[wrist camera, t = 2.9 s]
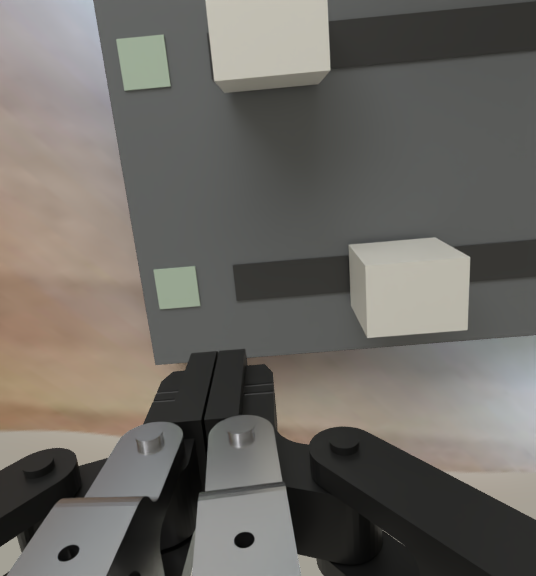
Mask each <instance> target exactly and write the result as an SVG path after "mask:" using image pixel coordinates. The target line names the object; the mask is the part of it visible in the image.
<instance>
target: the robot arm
mask: <svg viewBox="0 0 536 576" xmlns="http://www.w3.org/2000/svg"><path fill="white" fill-rule="evenodd" d="M382 530H384V531H385V532H384V531H382ZM386 532H387V533H388V534H389V535H388V534H387V533H386ZM390 535H391V536H392V537H391V536H390ZM16 536H17V538H18V541H19V545H20V548H21V552H22V554H21V555H20V557H19V558H18V559H17V561H16V562H15V564H14V565H13V567H12V568H11V570H10V571H9V572H8V573H6V574H5V575H4V576H190V575H191V571H192V576H301V572H300V567H299V561H298V555H297V554H300V555H304V556H309V557H313V558H317V564H318V567H319V569H320V571H321V573H322V574H323V575H324V576H536V520H535V519H533V518H531V517H529V516H527V515H525V514H523V513H521V512H520V511H518V510H516V509H514V508H512V507H510V506H508V505H506V504H504V503H502V502H500V501H498V500H497V499H495V498H493V497H491V496H489V495H487V494H485V493H483V492H481V491H479V490H477V489H475V488H473V487H472V486H470V485H468V484H466V483H464V482H462V481H460V480H458V479H456V478H454V477H453V476H451V475H449V474H447V473H445V472H443V471H441V470H439V469H437V468H435V467H433V466H431V465H430V464H428V463H426V462H424V461H422V460H420V459H418V458H416V457H414V456H412V455H410V454H408V453H407V452H405V451H403V450H401V449H399V448H397V447H395V446H393V445H391V444H389V443H387V442H386V441H384V440H382V439H380V438H378V437H376V436H374V435H372V434H370V433H368V432H366V431H364V430H361V429H358V428H353V427H334V428H329V429H326V430H324V431H322V432H319V433H318V434H317V435H315V436H314V437H313V438H312V440H311V441H310V444H309V445H307V444H300V443H296V442H293V441H290V440H288V439H286V438H284V437H282V436H281V435H280V434H279V433H278V431H277V415H276V404H275V393H274V382H273V372H272V371H271V370H270V369H269V368H268V367H267V366H266V365H265V364H262V365H249V366H248V365H247V356H246V350H245V349H235V350H222V351H219V353H218V351H211V352H198V353H191V355H190V358H189V361H188V364H187V366H186V369H185V371H176V372H172V373H171V374H170V375H169V376H167V377H166V378H165V379H164V380H163V381H162V382H161V384H160V387H159V389H158V391H157V394H156V396H155V398H154V403H152V405H151V407H150V410H149V412H148V414H147V417H146V419H145V421H144V424H143V425H141V426H138V427H136V428H134V429H132V430H130V431H128V432H127V433H126V434H124V435H123V436H122V437H121V438H120V440H119V441H118V443H117V445H116V446H115V448H114V450H113V451H112V453H111V454H110V456H109V458H106V459H103V460H99V461H96V462H92V463H88V464H85V465H81V466H78V462H77V458H76V455H75V453H74V452H72V451H70V450H68V449H64V448H52V449H46V450H42V451H39V452H36V453H33V454H31V455H28V456H26V457H24V458H23V459H20V460H19V461H17V462H15V463H13V464H12V465H10V466H8V467H6V468H4V469H2V470H1V471H0V547H1V546H2V545H4V544H5V543H7V542H8V541H9V540H11V539H13V538H14V537H16ZM393 537H394V538H395V539H397V540H398V541H399V542H398V541H397V540H395V539H394V538H393ZM400 542H401V543H402V544H401V543H400ZM192 567H193V569H192Z"/></svg>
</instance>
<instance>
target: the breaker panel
mask: <svg viewBox="0 0 536 576" xmlns="http://www.w3.org/2000/svg"><path fill="white" fill-rule="evenodd" d="M93 1H94V7H95V13H96V19H97V25H98V31H99V37H100V42H101V48H102V54H103V60H104V66H105V72H106V78H107V83H108V89H109V95H110V101H111V107H112V113H113V119H114V124H115V130H116V136H117V142H118V148H119V154H120V160H121V165H122V171H123V177H124V183H125V189H126V195H127V201H128V206H129V212H130V218H131V224H132V230H133V236H134V242H135V247H136V253H137V259H138V265H139V271H140V277H141V283H142V288H143V294H144V300H145V306H146V312H147V318H148V324H149V329H150V335H151V341H152V347H153V353H154V359H155V365H161V364H174V363H187V362H188V361H189V358H190V355H191V353H198V352H211V351H218V353H219V351H222V350H235V349H245V350H246V356H247V358H250V357H263V356H276V355H288V354H301V353H314V352H326V351H339V350H352V349H364V348H377V347H390V346H403V345H415V344H428V343H441V342H453V341H466V340H479V339H491V338H504V337H517V336H529V335H536V0H327V2H328V24H329V47H330V72H329V73H328V74H327V75H326V76H325V77H324V79H323V80H322V81H321V82H320V83H319V84H316V85H305V86H294V87H284V88H273V89H262V90H252V91H241V92H230V93H224V92H223V91H222V90H221V88H220V87H219V86H218V85H217V84H216V83H215V82H214V74H213V65H212V56H211V47H210V38H209V29H208V20H207V11H206V2H205V0H93ZM433 237H435V238H437V239H439V240H441V241H443V242H444V243H446V244H448V245H450V246H451V247H453V248H455V249H457V250H459V251H460V252H462V253H464V254H466V255H467V256H469V257H470V278H469V305H468V330H462V331H449V332H437V333H424V334H411V335H399V336H386V337H374V338H367V336H366V334H365V332H364V330H363V328H362V327H361V325H360V323H359V321H358V319H357V317H356V315H355V313H354V311H353V309H352V307H351V297H350V270H349V245H350V244H362V243H374V242H386V241H398V240H409V239H421V238H433Z"/></svg>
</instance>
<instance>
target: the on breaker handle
mask: <svg viewBox="0 0 536 576" xmlns="http://www.w3.org/2000/svg"><path fill="white" fill-rule="evenodd" d="M205 2H206V11H207V20H208V29H209V38H210V47H211V56H212V65H213V74H214V82H215V83H216V84H217V85H218V86H219V87H220V88H221V90H222V91H223V92H224V93H230V92H241V91H252V90H262V89H273V88H284V87H294V86H305V85H316V84H319V83H320V82H321V81H322V80H323V79H324V77H325V76H326V75H327V74H328V73H329V72H330V47H329V24H328V2H327V0H205Z"/></svg>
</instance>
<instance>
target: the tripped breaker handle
mask: <svg viewBox="0 0 536 576" xmlns="http://www.w3.org/2000/svg"><path fill="white" fill-rule="evenodd" d="M349 270H350V297H351V307H352V309H353V311H354V313H355V315H356V317H357V319H358V321H359V323H360V325H361V327H362V328H363V330H364V332H365V334H366V336H367V338H374V337H386V336H399V335H411V334H424V333H437V332H449V331H462V330H468V305H469V278H470V257H469V256H467V255H466V254H464V253H462V252H460V251H459V250H457V249H455V248H453V247H451V246H450V245H448V244H446V243H444V242H443V241H441V240H439V239H437V238H435V237H433V238H421V239H409V240H398V241H386V242H374V243H362V244H350V245H349Z"/></svg>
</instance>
